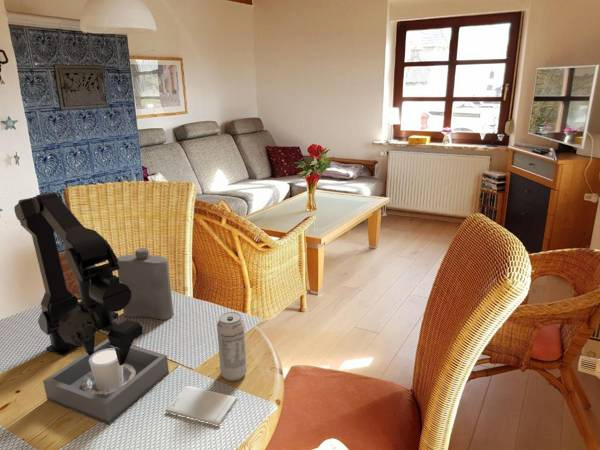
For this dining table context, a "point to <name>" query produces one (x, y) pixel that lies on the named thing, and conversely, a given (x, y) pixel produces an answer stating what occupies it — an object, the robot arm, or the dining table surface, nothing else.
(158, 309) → the flask
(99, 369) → the white short cylinder
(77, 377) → the walled box
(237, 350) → the energy drink can
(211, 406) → the grey flat slab
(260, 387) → the dining table surface
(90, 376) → the collar
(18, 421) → the dining table surface
